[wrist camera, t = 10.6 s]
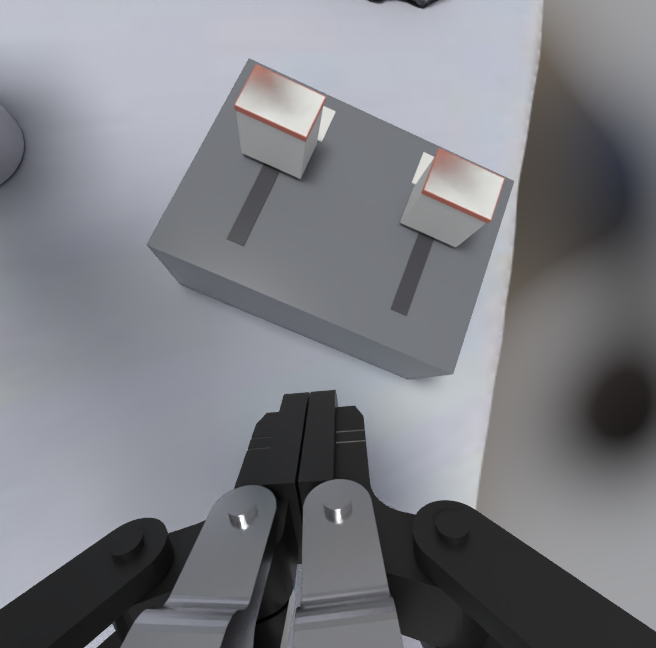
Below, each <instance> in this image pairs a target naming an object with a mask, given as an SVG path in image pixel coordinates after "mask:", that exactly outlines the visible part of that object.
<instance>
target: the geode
mask: <svg viewBox="0 0 656 648" xmlns="http://www.w3.org/2000/svg"><path fill="white" fill-rule="evenodd" d="M412 1H414V2H415V3H416V4H417V5H418V6H420V7H421V8H424V7H425V6H427V5H429V4H430V3H432V2H435V1H438V0H412Z"/></svg>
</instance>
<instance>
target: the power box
mask: <svg viewBox="0 0 656 648" xmlns="http://www.w3.org/2000/svg"><path fill="white" fill-rule="evenodd" d="M256 64H257V65H259V66H261V67H263V68H265V69H268V70H270V71H272V72H274V73H276V74H278V75H281V76H283V77H285V78H287V79H289V80H291V81H294V82H296V83H298V84H300V85H302V86H304V87H307V88H309V89H311V90H313V91H315V92H317V93H320V94H322V95H324V96H326V100H325V103H324V105H323V111H322V117H321V122H320V128H319V134H318V140H317V145H316V147H315V149H314V151H313V153H312V156H311V158H310V160H309V162H308V164H307V166H306V168H305V171H304V173H303V175H302V177H301V179H299V178H297V177H295V176H292V175H290V174H288V173H286V172H283V171H281V170H279V169H277V168H274V167H272V166H270V165H268V164H266V163H263V162H261V161H259V160H257V159H254V158H252V157H250V156H248V155H245V154H243V153H241V145H240V137H239V130H238V122H237V114H236V110H235V108H234V104H235V102H236V101H237V99H238V97H239V95H240V93H241V91H242V89H243V88H244V86H245V84H246V82H247V80H248V78H249V76H250V75H251V73H252V71H253V69H254V67H255V65H256ZM439 148H440V149H443V150H445V151H447V152H449V153H451V154H453V155H456V156H458V157H460V158H462V159H464V160H466V161H469V162H471V163H473V164H475V165H477V166H479V167H482V168H484V169H486V170H488V171H490V172H492V173H494V174H497V175H499V176H501V177H503V178H505V179H504V183H503V186H502V189H501V192H500V195H499V198H498V201H497V204H496V207H495V210H494V213H493V216H492V220H491V221H490V222H489V223H488V224H487V223H486V224H484V225H483V226H482V227H481V228H480V229H478V230H477V231H476V232H475V233H473V234H472V235H471V236H470V237H468V238H467V239H466V240H465V241H463V242H462V243H461V244H460V245H458V246H457V247H453V246H451V245H449V244H447V243H444V242H442V241H440V240H438V239H436V238H433V237H431V236H429V235H427V234H424V233H422V232H420V231H418V230H415V229H413V228H411V227H409V226H406V225H404V224H402V223H400V221H401V219H402V216H403V213H404V211H405V208H406V206H407V203H408V200H409V198H410V195H411V193H412V190H413V188H414V186H415V185H416V183H417V182H418V180H419V179H420V177H421V176H422V174H423V173H424V171H425V170H426V168H427V167H428V166H429V164H430V163H431V161H432V160H433V158H434V157H435V155H436V152H437V151H438V149H439ZM513 183H514V181H513V180H511V179H509V178H506V177H504V176H502V175H500V174H498V173H496V172H493V171H491V170H489V169H487V168H485V167H483V166H480V165H478V164H476V163H474V162H472V161H470V160H467V159H465V158H463V157H461V156H459V155H457V154H454V153H452V152H450V151H448V150H446V149H444V148H442V147H439V146H437V145H435V144H433V143H431V142H429V141H426V140H424V139H422V138H420V137H418V136H416V135H413V134H411V133H409V132H407V131H405V130H403V129H400V128H398V127H396V126H394V125H392V124H390V123H387V122H385V121H383V120H381V119H379V118H377V117H375V116H372V115H370V114H368V113H366V112H364V111H362V110H359V109H357V108H355V107H353V106H351V105H349V104H346V103H344V102H342V101H340V100H338V99H336V98H333V97H331V96H329V95H327V94H325V93H323V92H320V91H318V90H316V89H314V88H312V87H310V86H308V85H305V84H303V83H301V82H299V81H297V80H295V79H292V78H290V77H288V76H286V75H284V74H282V73H279V72H277V71H275V70H273V69H271V68H269V67H266V66H264V65H262V64H260V63H258V62H256V61H253V60H251V59H248V61H247V63H246V65H245V66H244V68H243V70H242V72H241V74H240V75H239V77H238V79H237V81H236V83H235V85H234V86H233V88H232V90H231V92H230V94H229V96H228V97H227V99H226V101H225V103H224V105H223V107H222V108H221V110H220V112H219V114H218V116H217V117H216V119H215V121H214V123H213V125H212V127H211V128H210V130H209V132H208V134H207V136H206V138H205V139H204V141H203V143H202V145H201V147H200V148H199V150H198V152H197V154H196V156H195V158H194V159H193V161H192V163H191V165H190V167H189V169H188V170H187V172H186V174H185V176H184V178H183V179H182V181H181V183H180V185H179V187H178V189H177V190H176V192H175V194H174V196H173V198H172V200H171V201H170V203H169V205H168V207H167V209H166V210H165V212H164V214H163V216H162V218H161V220H160V221H159V223H158V225H157V227H156V229H155V231H154V232H153V234H152V236H151V238H150V240H149V242H148V243H147V246H148V247H149V248H150V249H151V250H152V252H153V253H154V254H155V255H156V256H157V257H158V259H159V260H160V261H161V262H162V263H163V265H164V266H165V267H166V268H167V269H168V270H169V272H170V273H171V274H172V275H173V276H174V278H175V279H176V280H177V281H178V282H179V284H181V285H184V286H186V287H189V288H191V289H193V290H196V291H198V292H201V293H203V294H205V295H208V296H210V297H212V298H215V299H217V300H220V301H222V302H224V303H227V304H229V305H232V306H234V307H236V308H239V309H241V310H244V311H246V312H248V313H251V314H253V315H255V316H258V317H260V318H263V319H265V320H267V321H270V322H272V323H275V324H277V325H279V326H282V327H284V328H287V329H289V330H291V331H294V332H296V333H298V334H301V335H303V336H306V337H308V338H310V339H313V340H315V341H318V342H320V343H322V344H325V345H327V346H330V347H332V348H334V349H337V350H339V351H341V352H344V353H346V354H349V355H351V356H353V357H356V358H358V359H361V360H363V361H365V362H368V363H370V364H373V365H375V366H377V367H380V368H382V369H384V370H387V371H389V372H392V373H394V374H396V375H399V376H401V377H404V378H406V379H414V378H423V377H432V376H441V375H450V374H453V373H454V369H455V366H456V363H457V360H458V357H459V354H460V350H461V347H462V344H463V341H464V338H465V335H466V332H467V328H468V325H469V322H470V319H471V316H472V313H473V309H474V306H475V303H476V300H477V297H478V294H479V291H480V287H481V284H482V281H483V278H484V275H485V272H486V269H487V265H488V262H489V259H490V256H491V253H492V250H493V246H494V243H495V240H496V237H497V234H498V231H499V228H500V224H501V221H502V218H503V215H504V212H505V209H506V205H507V202H508V199H509V196H510V193H511V190H512V187H513Z"/></svg>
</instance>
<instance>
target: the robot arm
mask: <svg viewBox="0 0 656 648" xmlns="http://www.w3.org/2000/svg"><path fill="white" fill-rule="evenodd" d="M23 153H24V139H23V134H22V131H21V129H20V127H19V125H18V123H17V122H16V121H15V120H14V118H13V117H12V116H11V115H10V114H9V113H8V112H7V111H6V109H5V108H4V107H3V106H2V105H1V104H0V184H2V183H3V182H4V181H6V180H7V179H8V178H9V177H10V176H11V175H12V174H13V173H14V172H15V170H16V169H17V167H18V165H19V164H20V162H21V159H22V156H23ZM297 564H302V587H301V606H300V607H297V609H296V613H295V623H294V647H293V648H404V647H403V642H402V637H401V634H402V635H405V636H408V637H411V638H414V639H416V640H419V641H420V642H421V645H422V646H423V648H656V632H655V631H654V630H652V629H651V628H649V627H648V626H647V625H645V624H644V623H642V622H641V621H639V620H638V619H636V618H634V617H633V616H632V615H630V614H629V613H627V612H626V611H624V610H623V609H621V608H620V607H618V606H617V605H615V604H614V603H613V602H611V601H610V600H608V599H607V598H605V597H603V596H602V595H601V594H599V593H598V592H596V591H595V590H593V589H592V588H590V587H588V586H587V585H586V584H584V583H583V582H581V581H580V580H578V579H577V578H576V577H574V576H573V575H571V574H570V573H568V572H566V571H565V570H564V569H562V568H561V567H559V566H558V565H556V564H555V563H553V562H552V561H550V560H549V559H547V558H546V557H544V556H543V555H541V554H540V553H538V552H537V551H536V550H534V549H533V548H531V547H530V546H528V545H526V544H525V543H524V542H522V541H521V540H519V539H518V538H516V537H515V536H513V535H512V534H510V533H509V532H507V531H506V530H504V529H503V528H501V527H500V526H499V525H497V524H496V523H494V522H493V521H491V520H489V519H488V518H487V517H485V516H483V515H482V514H481V513H479V512H478V511H476V510H475V509H473V508H471V507H470V506H468V505H465V504H463V503H460V502H456V501H448V500H442V501H435V502H432V503H429V504H427V505H425V506H424V507H422V508H421V509H420V510H419V511H418V512H417V514H416V515H415V514H410V513H405V512H401V511H398V510H395V509H392V508H390V507H388V506H386V505H385V504H383V503H382V502H381V501H379V500H378V498H377V497H376V496H375V495H374V493H373V492H372V489H371V486H370V479H369V469H368V459H367V448H366V438H365V428H364V418H363V415H362V414H361V413H360V411H359V410H358V409H357V408H356V407H355V406H346V407H338V402H337V394H336V390H329V391H317V392H311V393H309V392H306V393H294V394H284V396H283V399H282V403H281V407H280V411H279V412H273V413H266V414H265V416H264V417H263V418H262V419H261V420H260V421H259V422H258V423H257V424H256V426H255V429H254V432H253V435H252V440H251V441H250V444H249V447H248V451H247V453H246V455H245V458H244V461H243V464H242V467H241V470H240V473H239V476H238V479H237V482H236V485H235V488H234V490H231V491H230V492H228V493H226V494H225V495H224V496H222V497H221V498H220V499H219V500H218V501H217V502H216V503H215V504H214V506H213V507H212V509H211V511H210V513H209V515H208V517H207V519H206V520H205V521H203V522H200V523H198V524H195V525H192V526H189V527H186V528H183V529H180V530H177V531H174V532H171V533H168V532H167V529H166V527H165V525H164V524H163V522H161V521H160V520H158V519H155V518H141V519H137V520H133V521H130V522H128V523H126V524H124V525H122V526H120V527H118V528H117V529H115V530H114V531H112V532H111V533H109V534H108V535H106V536H105V537H103V538H102V539H101V540H99V541H98V542H96V543H95V544H93V545H92V546H91V547H89V548H88V549H86V550H85V551H83V552H82V553H81V554H79V555H78V556H76V557H75V558H73V559H72V560H70V561H69V562H68V563H66V564H65V565H63V566H62V567H60V568H59V569H58V570H56V571H55V572H53V573H52V574H50V575H49V576H48V577H46V578H45V579H43V580H42V581H40V582H39V583H37V584H36V585H35V586H33V587H32V588H30V589H29V590H27V591H26V592H25V593H23V594H22V595H20V596H19V597H17V598H16V599H15V600H13V601H12V602H10V603H9V604H7V605H6V606H4V607H3V608H2V609H0V648H84V647H85V646H86V645H88V644H89V643H90V642H91V641H92V640H93V639H95V638H96V637H97V636H98V635H99V634H100V633H101V632H103V631H104V630H105V629H106V628H107V627H108V626H110V625H111V624H113V626H114V628H115V630H116V631H115V632H114V633H113V634H112V635H111V636H109V637H108V638H107V639H106V640H105V641H104V642H103V643H101V644H100V645H99V646H98V647H97V648H287V646H288V641H289V635H290V629H291V624H292V618H293V612H294V607H295V599H296V595H295V589H294V585H295V577H296V568H297Z"/></svg>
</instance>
